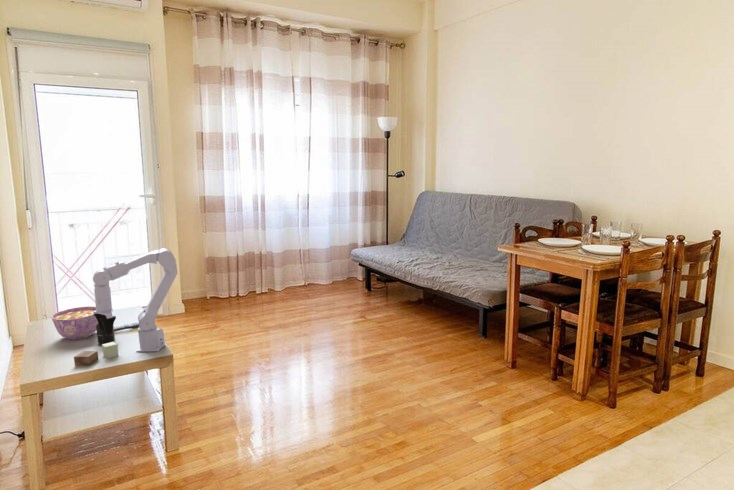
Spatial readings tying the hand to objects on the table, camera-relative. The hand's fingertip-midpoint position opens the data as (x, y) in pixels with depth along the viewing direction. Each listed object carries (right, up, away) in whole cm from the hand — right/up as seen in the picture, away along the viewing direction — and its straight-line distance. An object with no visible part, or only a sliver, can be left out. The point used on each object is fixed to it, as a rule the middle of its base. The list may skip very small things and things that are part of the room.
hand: (105, 331), depth 199 cm
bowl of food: (-26, -7, +25) cm, 37 cm away
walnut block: (-5, -12, -5) cm, 14 cm away
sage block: (+1, -11, +2) cm, 11 cm away
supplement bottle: (-9, -8, +17) cm, 21 cm away
